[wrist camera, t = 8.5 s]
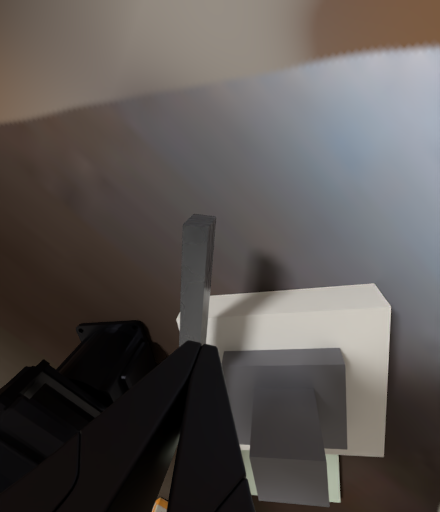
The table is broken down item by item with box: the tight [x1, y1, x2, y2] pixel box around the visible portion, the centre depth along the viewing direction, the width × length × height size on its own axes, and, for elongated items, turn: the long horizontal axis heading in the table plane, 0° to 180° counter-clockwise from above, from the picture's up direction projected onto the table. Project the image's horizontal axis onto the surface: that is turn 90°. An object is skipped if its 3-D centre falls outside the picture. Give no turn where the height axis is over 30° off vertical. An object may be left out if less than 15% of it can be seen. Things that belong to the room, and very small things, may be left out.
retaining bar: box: [179, 214, 216, 347], centre depth 17 cm, size 13×2×4 cm, turn 175°
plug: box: [221, 348, 347, 507], centre depth 19 cm, size 8×8×9 cm
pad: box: [241, 450, 340, 503], centre depth 28 cm, size 10×10×1 cm
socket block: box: [176, 283, 391, 457], centre depth 22 cm, size 14×14×3 cm
